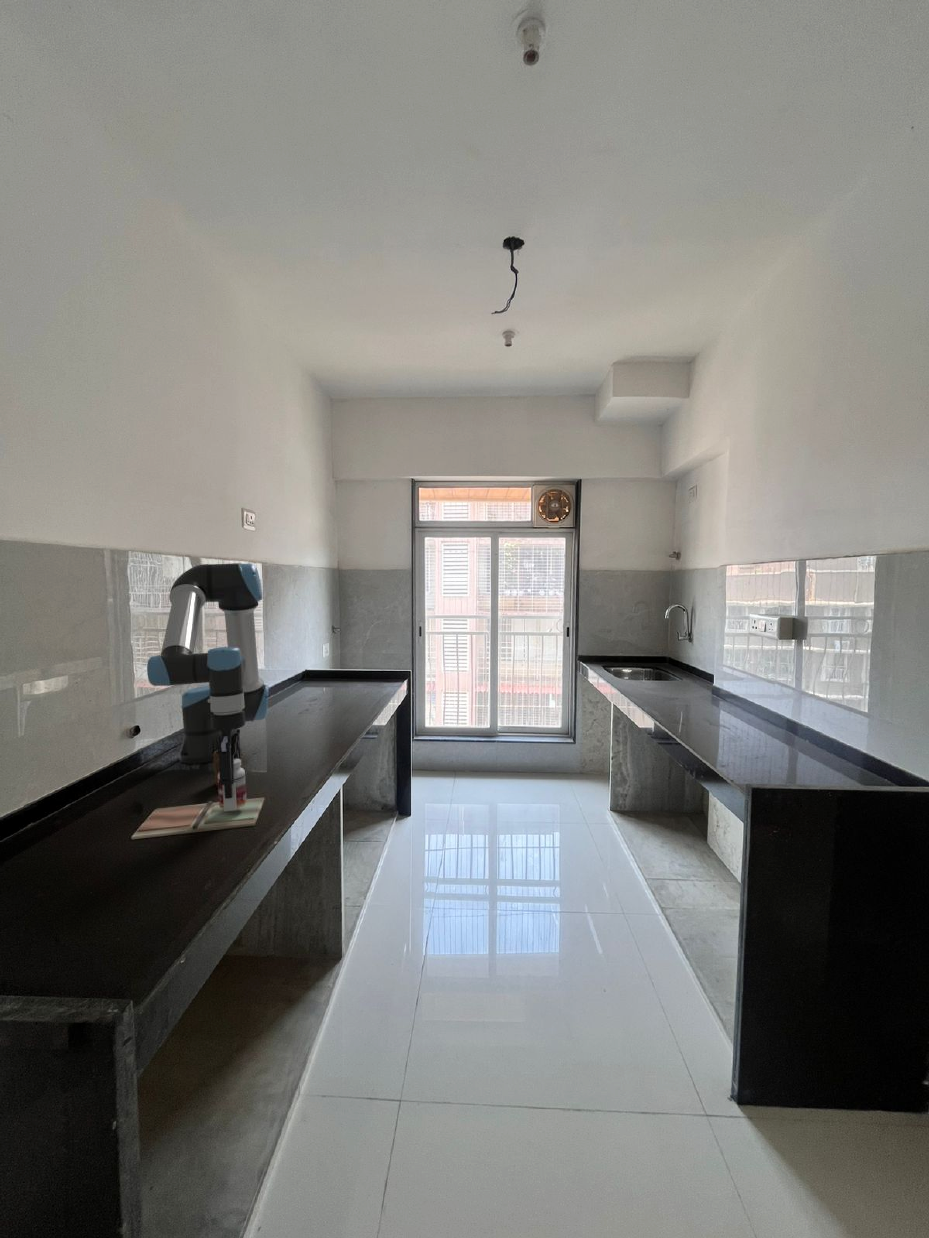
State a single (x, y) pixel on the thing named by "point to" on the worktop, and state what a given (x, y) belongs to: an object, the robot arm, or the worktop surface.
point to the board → (198, 819)
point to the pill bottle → (239, 785)
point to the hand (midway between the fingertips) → (233, 804)
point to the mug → (216, 764)
